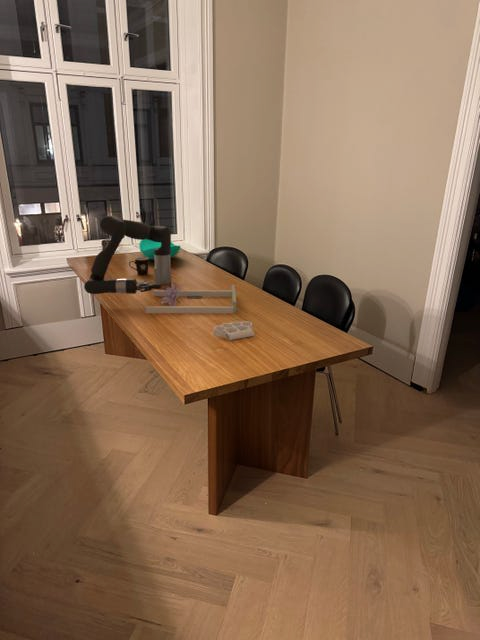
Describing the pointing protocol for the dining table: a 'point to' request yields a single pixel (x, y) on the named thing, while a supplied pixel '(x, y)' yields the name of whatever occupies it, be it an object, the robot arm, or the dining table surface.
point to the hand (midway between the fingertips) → (161, 286)
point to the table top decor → (149, 247)
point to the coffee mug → (141, 265)
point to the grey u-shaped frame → (196, 308)
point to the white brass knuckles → (234, 330)
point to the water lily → (170, 295)
